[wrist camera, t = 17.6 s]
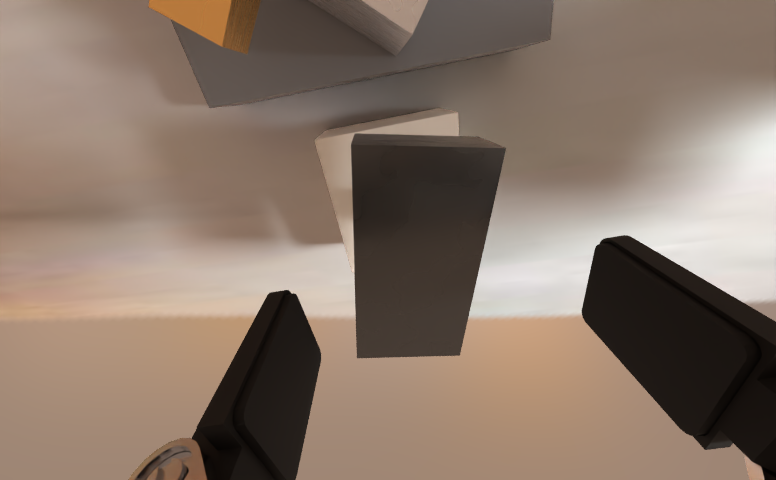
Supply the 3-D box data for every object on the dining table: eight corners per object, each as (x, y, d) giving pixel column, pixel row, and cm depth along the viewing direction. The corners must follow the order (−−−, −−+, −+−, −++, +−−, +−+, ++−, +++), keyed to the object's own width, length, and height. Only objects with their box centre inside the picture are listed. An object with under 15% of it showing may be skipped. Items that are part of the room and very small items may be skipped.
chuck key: (431, 117, 18) (505, 148, 8) (419, 237, 23) (459, 355, 13) (361, 114, 18) (350, 144, 8) (362, 237, 22) (357, 358, 12)
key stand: (439, 107, 19) (457, 112, 15) (448, 224, 23) (465, 252, 19) (325, 130, 19) (314, 140, 15) (355, 242, 24) (352, 272, 20)
